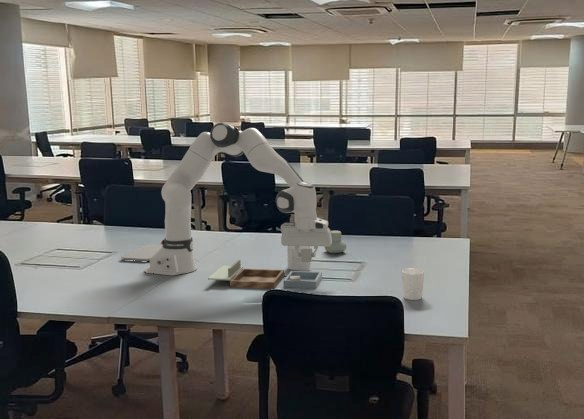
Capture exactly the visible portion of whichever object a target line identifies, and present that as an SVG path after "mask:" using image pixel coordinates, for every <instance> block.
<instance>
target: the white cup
mask: <svg viewBox="0 0 584 419" xmlns="http://www.w3.org/2000/svg"><path fill="white" fill-rule="evenodd" d="M401 276H402V277H401V278H402V291H403V299H405V300H408V301H418V300H422V299H423V291H424V281H425V280H424V278H425V271H424V270H423V269H421V268H403V269H402V270H401Z"/></svg>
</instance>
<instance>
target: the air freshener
mask: <svg viewBox="0 0 584 419" xmlns="http://www.w3.org/2000/svg"><path fill="white" fill-rule="evenodd" d="M330 231H331V237H332V244H331V245H330V246H329V247H324V250H325V251H326V252H327V253H329V254H341V253H342V252H345V251H346V249H347V244H346V241H344V240H342V232H341V231H340V230H330Z"/></svg>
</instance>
